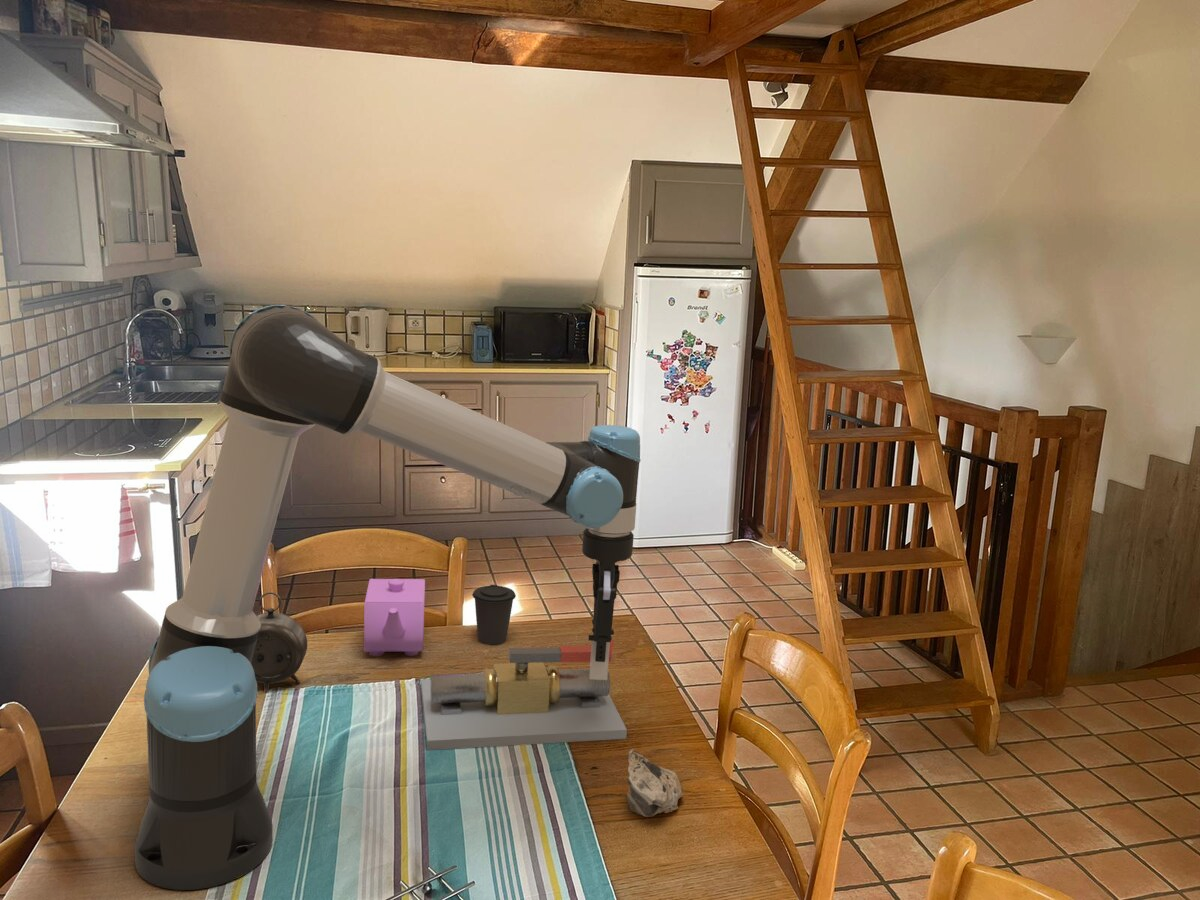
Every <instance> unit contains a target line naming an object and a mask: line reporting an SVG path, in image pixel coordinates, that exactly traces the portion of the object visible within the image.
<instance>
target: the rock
mask: <svg viewBox="0 0 1200 900" xmlns="http://www.w3.org/2000/svg"><path fill="white" fill-rule="evenodd" d="M627 758H628V766H627V772H628V774H629V776H628V778H627V783H628V786H629V787H628V788H629V789H628V791H627V793H626V794H627V795H626V798H627V804H628V808H629V810H630V811H632V812H634V813H635V814H638V815H641V816H643V817H646V818H649V817H650V818H652V817H654V816H655V815H657V814H661V813H664V814H667V813H668V814H669V813H673V811H676V810H677V809H678V803H679V799H680V798H683V797H684V796H685V795H684V794H683V790H684V789H683V786H682V783H681V781H680V779H679V777H678V775H677V773H676V772H675V771H673V770H670V769H668V768H665V767H663V766H658V765H657V764H654V763H652V762H651V761H650V760H649V759H648V758H646V757H645V755H642V754H641V753H639V751H636V750H635V748H631V749H629V751H628V755H627Z"/></svg>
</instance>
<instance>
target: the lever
mask: <svg viewBox="0 0 1200 900" xmlns="http://www.w3.org/2000/svg"><path fill="white" fill-rule="evenodd" d="M614 644H615V640H614V639H613V638H612V640H611V642H610V649H609V662H608V663H610V662H612V661H613V657H614ZM508 659H509V663H516V665H515V671H516V672H518V673H526V672H528V663H538V662H543V663H561V664H563V663H564V664H565V663H568V664H569V663H590V659H591V645H587V644H586V645H582V644H580V645H559V646H558V647H509V648H508Z"/></svg>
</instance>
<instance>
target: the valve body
mask: <svg viewBox="0 0 1200 900" xmlns="http://www.w3.org/2000/svg"><path fill="white" fill-rule="evenodd" d="M515 665H516V663H510V662H508V663H505V662H504V663H493V667H485V668H483V670H482V672H476V673H475V672H473V673H472V672H471V673H450V674H449V673H448V674H446V673H445V674H444V673H443V674H431V675H430V679H431V680H430V699H431V704H440V709H441V715H456V714H461V704H460V703H469V702H483V704H484V706H495V708H496V712H497V715H500V714H520V713H540V712H548V707H549V703H558V702H559V699H560V698H575V697H577V699H578V701H579V703H580V706H581V708H597V707H600V700H599V698H598V696H608V695H610V691H611V690H610V689H611V679H610V677H611V676H610V672H609V670H608V676H607V680H594V679H590V678H589V673H590V668H576V669H559V666H558V665H546V666H545V662H538V663H528V672H526V673H518V672H516V671H515Z"/></svg>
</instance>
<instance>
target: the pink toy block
mask: <svg viewBox="0 0 1200 900" xmlns="http://www.w3.org/2000/svg"><path fill="white" fill-rule="evenodd" d="M367 585H368V586H367V590H366V594H365V599H364V606H363V607H364V610H363V611H364V612H363V613H364V616H363V617H364V619H363V620H364V622H363V624H364V625H363V652H364V653H367V652H369V655H370V656H373V657H379V656H382V655H384V654H385V652H388V653H389V652H404V653H403V654H404V655H406V656H409V657H413V656H417V655H419V652H423V651H424V649H423V647H424V633H425V632H424V630H425V599H426V598H425V595H426V579H425V578H370V579H369V581H368V584H367Z"/></svg>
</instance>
